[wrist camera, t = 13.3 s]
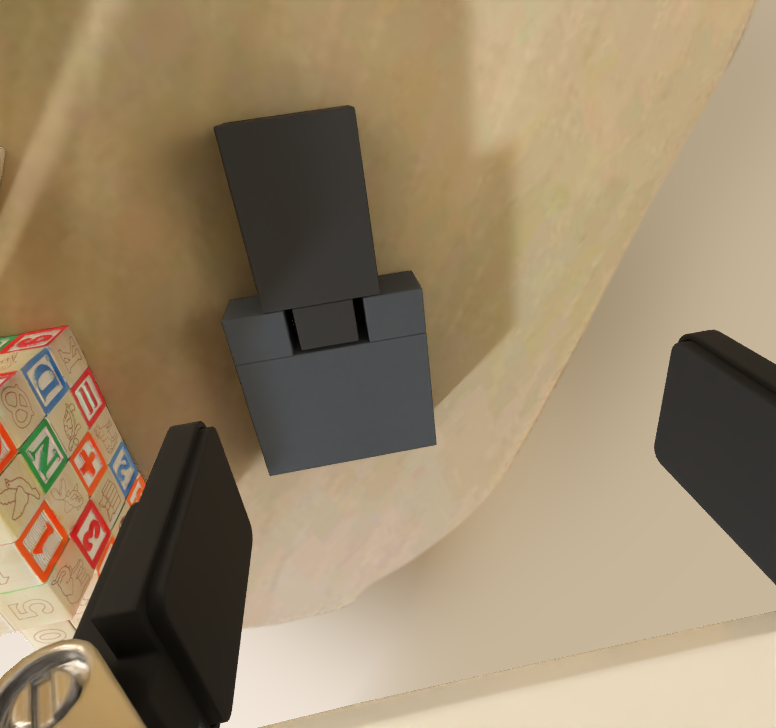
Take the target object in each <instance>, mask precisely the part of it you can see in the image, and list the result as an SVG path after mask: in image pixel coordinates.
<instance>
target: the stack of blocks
mask: <svg viewBox="0 0 776 728" xmlns="http://www.w3.org/2000/svg"><path fill="white" fill-rule="evenodd" d="M145 485H146V484H145V482H144V480H143V478H142V476H141V474H140V473H139V472H138V470H137V468H136V466H135V464H134V462H133V460H132V458H131V455H130V454H129V451H128V449H127V447H126V445H125V443H124V442H123V440H122V438H121V436H120V434H119V432H118V430H117V427H116V425H115V423H114V421H113V419H112V417H111V415H110V413H109V411H108V409H107V407H106V402H105V400H104V398H103V396H102V394H101V391H100V389H99V387H98V385H97V383H96V381H95V379H94V377H93V375H92V373H91V370H90V369H89V367H88V365H87V362H86V359H85V357H84V355H83V353H82V351H81V349H80V347H79V345H78V343H77V341H76V338H75V336H74V334H73V332H72V330H71V328H70V327H69V326H63V327H57V328H51V329H46V330H40V331H34V332H29V333H23V334H21V335H18V336H10V337H4V338H0V636H1V635H6V634H10V633H14V632H16V631H20V633H21V634H22V635H23V636H24V638H25V639H26V640H27V641H28V643H29V644H30V645H31V646H32V648H33V649H34V650H35V651H37V650H38V649H40V648H42V647H44V646H47V645H49V644H52V643H55V642H57V641H60V640H68V639H73V636H74V634H75V632H76V629H77V627H78V625H79V622H80V620H81V618H82V615H83V613H84V611H85V608H86V606H87V604H88V601H89V599H90V597H91V595H92V592H93V590H94V588H95V585H96V583H97V581H98V578H99V576H100V574H101V571H102V569H103V567H104V564H105V562H106V560H107V557H108V555H109V553H110V550H111V548H112V546H113V543H114V541H115V539H116V536H117V534H118V532H119V529H120V527H121V525H122V523H123V520H124V518H125V516H126V513H127V511H128V510H129V508H130V506H131V505H133V504H134V503H136V502H139V500H140V497H141V495H142V493H143V490H144V488H145Z"/></svg>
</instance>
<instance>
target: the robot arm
mask: <svg viewBox="0 0 776 728" xmlns="http://www.w3.org/2000/svg"><path fill="white" fill-rule="evenodd" d="M654 449H655V454H656V457H657V459H658V461H659V462H660V464H661V465H662V466H663V467H664V468H665V469H666V470H667V471H668V472H669V473H670V474H671V475H672V476H673V477H674V478H675V479H676V480H677V481H678V483H679V484H680V485H681V486H682V487H683V488H684V489H685V490H686V491H687V492H688V493H689V494H690V495H691V496H692V497H693V498H694V499H695V500H696V501H697V502H698V504H699V505H700V506H701V507H702V508H703V509H704V510H705V511H706V512H707V513H708V514H709V515H710V516H711V517H712V518H713V519H714V520H715V521H716V523H717V524H718V525H720V527H721V528H722V529H723V530H724V531H725V532H726V533H727V534H728V535H729V536H730V537H731V538H732V539H733V540H734V541H735V542H736V544H738V546H739V547H740V548H741V549H742V550H743V551H744V552H745V553H746V554H747V555H748V556H749V557H750V558H751V559H752V560H753V561H754V563H756V565H757V566H758V567H759V568H760V569H761V570H762V571H763V572H764V573H765V574H766V575H767V576H768V577H769V578H770V579H771V580H772V581H773V582H774V583H775V585H776V364H774V363H772V362H771V361H769V360H767V359H766V358H764V357H762V356H761V355H759V354H757V353H755V352H754V351H752V350H750V349H748V348H747V347H745V346H743V345H742V344H740V343H738V342H736V341H735V340H733V339H731V338H730V337H728V336H726V335H724V334H723V333H721V332H719V331H716V330H707V331H702V332H696V333H691V334H685V335H683V336H682V337H681V338H680V339H679V342H678V343H676V344H675V345H674V346H673V348H672V351H671V356H670V362H669V367H668V373H667V379H666V384H665V389H664V395H663V400H662V406H661V412H660V417H659V422H658V428H657V433H656V439H655V444H654ZM252 540H253V539H252V529H251V524H250V521H249V519H248V516H247V513H246V510H245V508H244V505H243V502H242V499H241V496H240V494H239V491H238V488H237V485H236V483H235V480H234V477H233V474H232V472H231V469H230V466H229V463H228V461H227V458H226V455H225V452H224V449H223V447H222V444H221V441H220V438H219V436H218V433H217V431H216V429H215V428H214V427H208V428H206V426H205V424H204V423H203V422H201V421H199V422H193V423H188V424H182V425H177V426H172V427H170V428H169V430H168V432H167V434H166V437H165V439H164V442H163V444H162V447H161V449H160V451H159V454H158V456H157V459H156V461H155V463H154V466H153V468H152V471H151V473H150V476H149V478H148V480H147V483H146V485H145V488H144V490H143V493H142V495H141V497H140V500H139V502H136V503H134V504H133V505H131V506H130V508H129V510H128V511H127V513H126V516H125V518H124V520H123V523H122V525H121V527H120V529H119V532H118V534H117V536H116V539H115V541H114V543H113V546H112V548H111V550H110V553H109V555H108V557H107V560H106V562H105V564H104V567H103V569H102V571H101V574H100V576H99V578H98V581H97V583H96V585H95V588H94V590H93V592H92V595H91V597H90V599H89V601H88V604H87V606H86V608H85V611H84V613H83V615H82V618H81V620H80V622H79V625H78V627H77V629H76V632H75V634H74V636H73V639H68V640H60V641H57V642H55V643H52V644H49V645H47V646H44V647H42V648H40V649H38V650H37V651H35V652H33V653H32V654H30V655H29V656H27V657H25V658H23V659H22V660H21V661H20V662H19V663H17V664H16V665H15V666H14V667H13V668H11V669H10V670H9V671H8V672H7V673H6V674H4V675H3V677H2V678H1V679H0V728H219V727H220V723H223V722H228V720H229V719H230V716H231V711H232V705H233V697H234V689H235V680H236V672H237V664H238V656H239V647H240V640H241V632H242V624H243V615H244V607H245V599H246V591H247V583H248V575H249V567H250V558H251V550H252ZM259 728H776V611H774V612H769V613H764V614H760V615H755V616H750V617H745V618H741V619H736V620H731V621H727V622H722V623H718V624H713V625H708V626H704V627H699V628H695V629H690V630H685V631H681V632H676V633H672V634H667V635H663V636H658V637H653V638H649V639H644V640H640V641H635V642H631V643H626V644H621V645H617V646H612V647H608V648H603V649H599V650H594V651H590V652H585V653H581V654H576V655H572V656H567V657H562V658H558V659H554V660H549V661H544V662H540V663H535V664H531V665H526V666H522V667H518V668H513V669H508V670H504V671H499V672H495V673H491V674H486V675H482V676H477V677H473V678H469V679H464V680H460V681H456V682H451V683H446V684H442V685H438V686H433V687H428V688H425V689H420V690H415V691H411V692H406V693H402V694H397V695H393V696H388V697H384V698H380V699H375V700H371V701H367V702H362V703H358V704H354V705H350V706H346V707H341V708H337V709H333V710H329V711H325V712H321V713H317V714H313V715H309V716H304V717H300V718H296V719H292V720H288V721H284V722H280V723H276V724H272V725H268V726H264V727H259Z"/></svg>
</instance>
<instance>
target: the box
mask: <svg viewBox="0 0 776 728" xmlns="http://www.w3.org/2000/svg"><path fill="white" fill-rule="evenodd" d="M4 159H5V149H3V148H2V147H0V183H1V178H2V172H3V165H4Z"/></svg>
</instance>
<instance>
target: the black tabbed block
mask: <svg viewBox="0 0 776 728" xmlns="http://www.w3.org/2000/svg"><path fill="white" fill-rule="evenodd" d="M214 132H215V135H216V139H217V143H218V147H219V150H220V154H221V158H222V162H223V165H224V169H225V173H226V177H227V180H228V184H229V188H230V192H231V195H232V199H233V203H234V206H235V210H236V214H237V218H238V221H239V225H240V229H241V233H242V236H243V240H244V244H245V248H246V251H247V255H248V259H249V263H250V266H251V270H252V274H253V278H254V281H255V285H256V289H257V292H258V296H259V300H260V304H261V307H262V311H263V313H269V312H275V311H281V310H287V309H292V311H293V315H294V320H295V324H296V328H297V332H298V337H299V341H300V345H301V349H302V350H306V349H312V348H318V347H324V346H330V345H335V344H341V343H347V342H353V341H358V340H359V336H358V330H357V324H356V318H355V312H354V306H353V300H352V298H358V297H364V296H370V295H376V294H380V288H379V280H378V273H377V266H376V259H375V251H374V244H373V237H372V230H371V222H370V215H369V208H368V201H367V194H366V186H365V179H364V172H363V165H362V157H361V150H360V143H359V136H358V128H357V121H356V114H355V108H354V107H352V106H349V105H347V106H340V107H333V108H326V109H319V110H312V111H305V112H298V113H291V114H284V115H277V116H270V117H263V118H256V119H249V120H242V121H235V122H228V123H223V124H220V125H218V126H215V127H214Z"/></svg>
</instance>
